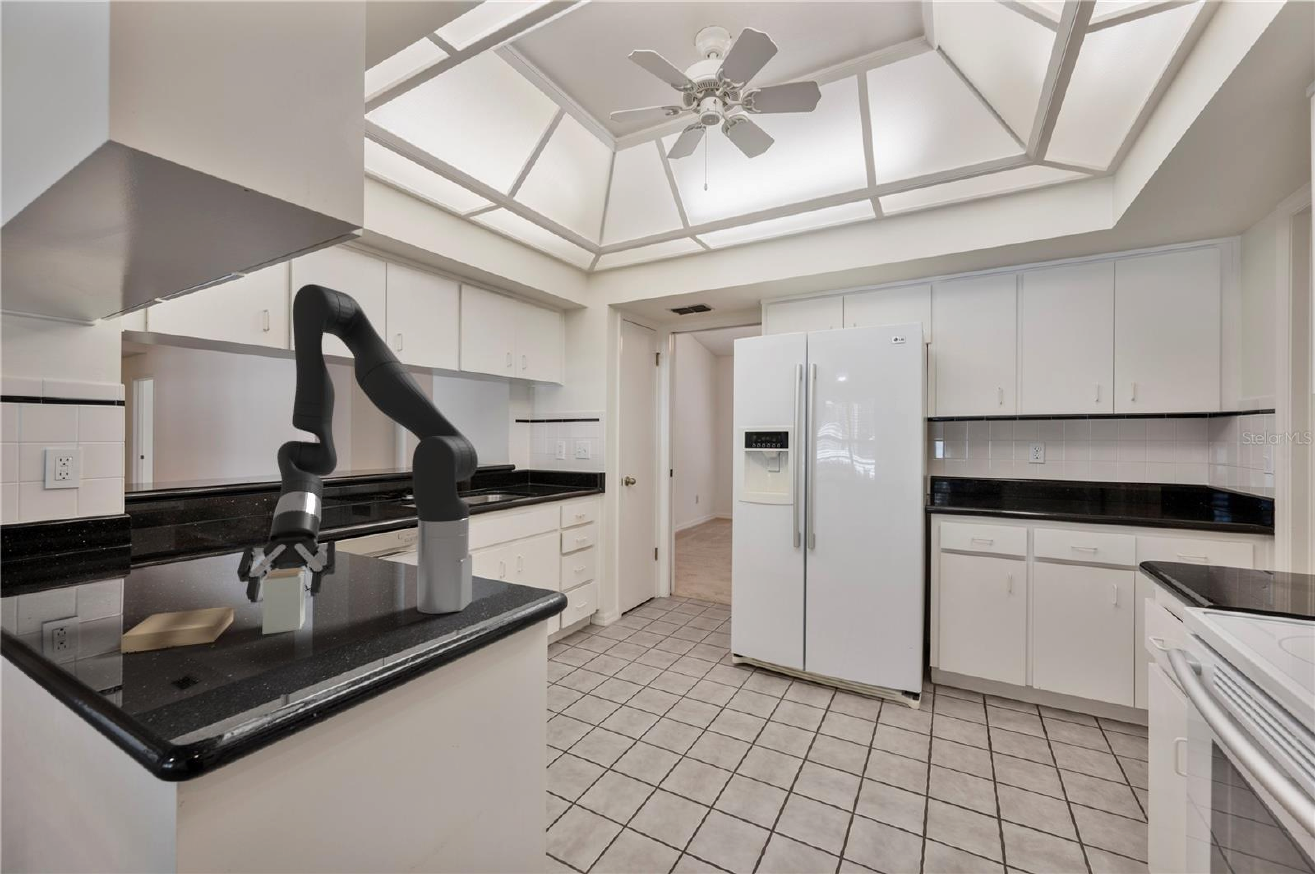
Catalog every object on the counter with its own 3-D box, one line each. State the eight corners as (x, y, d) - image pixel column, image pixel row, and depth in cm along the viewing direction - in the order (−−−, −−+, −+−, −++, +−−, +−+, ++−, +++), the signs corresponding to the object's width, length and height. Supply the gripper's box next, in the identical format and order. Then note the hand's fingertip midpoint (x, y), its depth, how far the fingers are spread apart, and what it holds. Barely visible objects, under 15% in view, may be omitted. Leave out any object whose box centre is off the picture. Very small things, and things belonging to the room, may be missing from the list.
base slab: (233, 622, 94) (233, 606, 94) (213, 644, 84) (213, 625, 84) (152, 632, 89) (152, 614, 89) (121, 656, 79) (121, 636, 79)
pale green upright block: (304, 620, 94) (305, 566, 94) (299, 629, 90) (300, 573, 90) (269, 624, 92) (270, 569, 92) (262, 634, 87) (263, 576, 88)
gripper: (247, 510, 95) (227, 590, 85) (338, 507, 102) (330, 581, 91) (254, 535, 100) (236, 613, 90) (341, 530, 106) (333, 603, 96)
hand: (283, 597), depth 90 cm, fingers open, 8 cm apart
